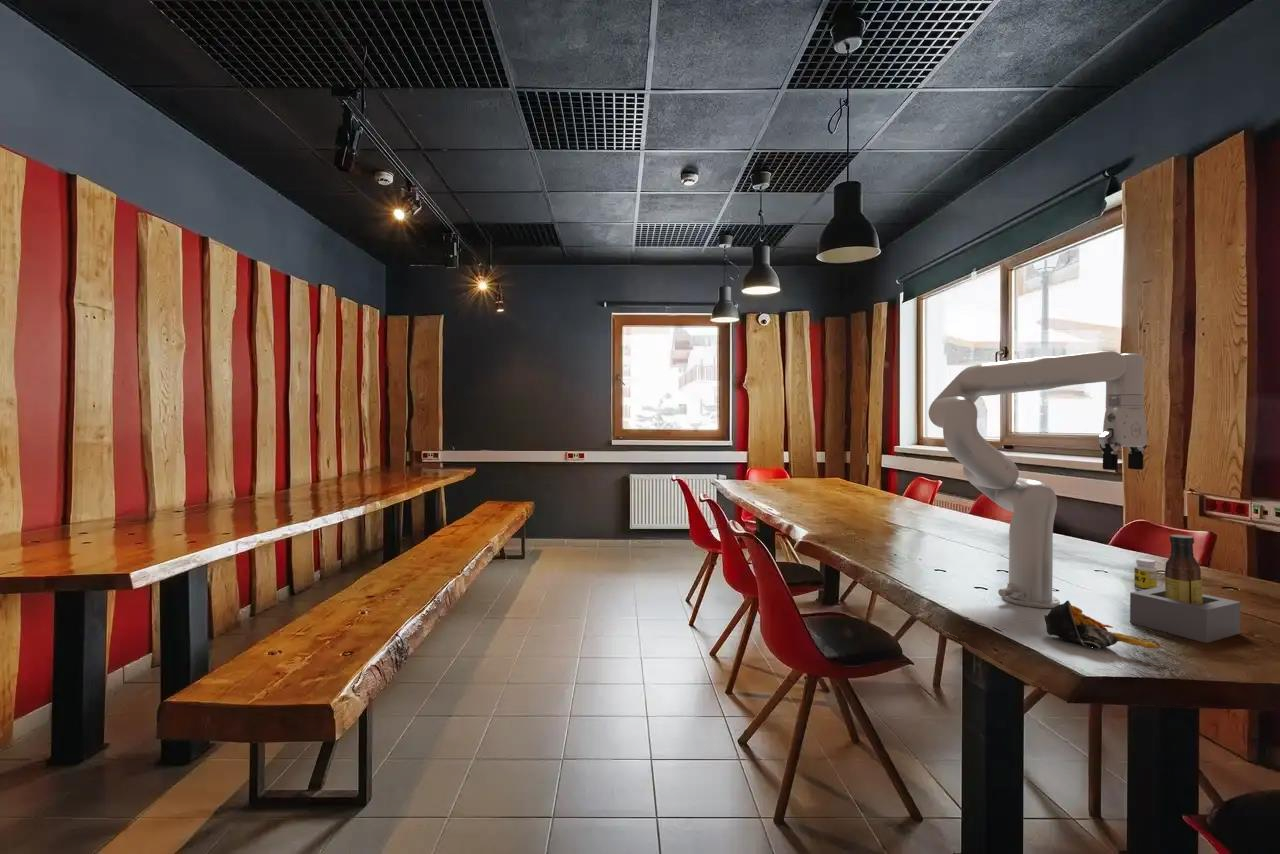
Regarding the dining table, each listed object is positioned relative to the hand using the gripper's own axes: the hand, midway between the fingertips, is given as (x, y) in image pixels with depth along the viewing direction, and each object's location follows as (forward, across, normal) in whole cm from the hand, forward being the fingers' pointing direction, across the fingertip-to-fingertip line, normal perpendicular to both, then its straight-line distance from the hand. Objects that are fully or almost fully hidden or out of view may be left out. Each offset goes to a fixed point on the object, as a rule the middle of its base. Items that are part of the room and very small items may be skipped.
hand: (1122, 469), depth 153 cm
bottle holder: (+35, -6, -17) cm, 39 cm away
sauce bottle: (+34, -6, -16) cm, 38 cm away
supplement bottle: (+35, +21, +6) cm, 41 cm away
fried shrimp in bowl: (+35, -37, -18) cm, 54 cm away
